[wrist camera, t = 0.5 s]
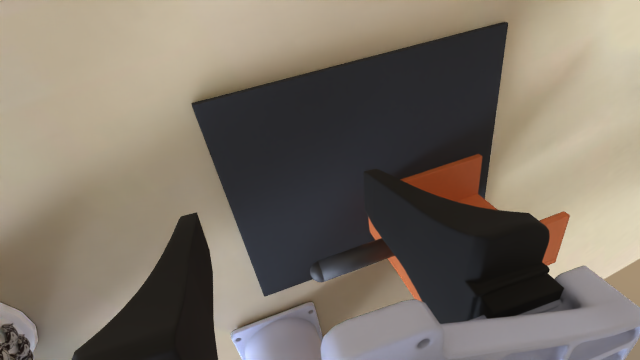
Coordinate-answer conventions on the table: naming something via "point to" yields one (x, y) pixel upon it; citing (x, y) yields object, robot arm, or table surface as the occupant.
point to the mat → (346, 143)
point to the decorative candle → (16, 334)
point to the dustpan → (445, 182)
